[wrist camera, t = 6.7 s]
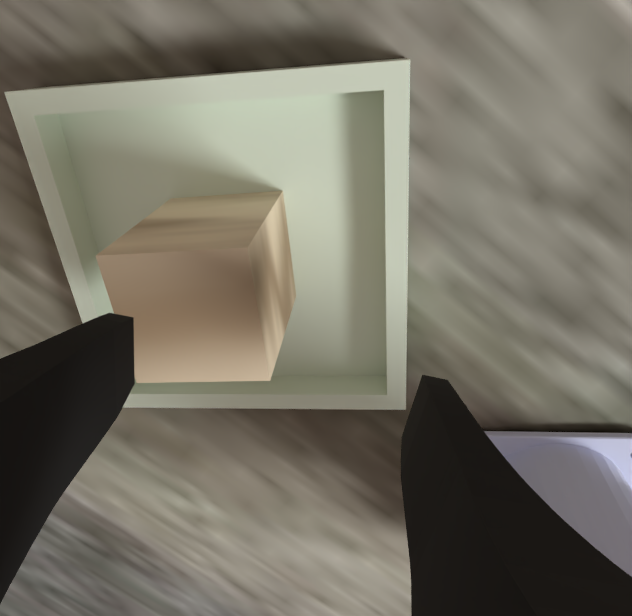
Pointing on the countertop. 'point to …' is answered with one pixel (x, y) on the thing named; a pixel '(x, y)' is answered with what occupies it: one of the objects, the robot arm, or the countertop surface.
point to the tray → (248, 177)
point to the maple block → (205, 287)
